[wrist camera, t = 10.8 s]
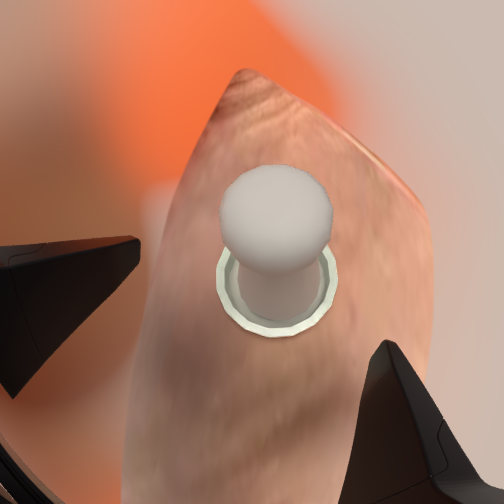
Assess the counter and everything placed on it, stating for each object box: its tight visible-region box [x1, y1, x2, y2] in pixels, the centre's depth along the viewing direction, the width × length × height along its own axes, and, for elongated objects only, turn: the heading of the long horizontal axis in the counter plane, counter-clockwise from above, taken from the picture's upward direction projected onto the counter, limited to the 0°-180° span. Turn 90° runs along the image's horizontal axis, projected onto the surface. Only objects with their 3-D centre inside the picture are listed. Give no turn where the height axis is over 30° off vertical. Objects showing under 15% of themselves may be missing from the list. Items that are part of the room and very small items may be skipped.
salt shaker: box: [219, 165, 333, 320], centre depth 15 cm, size 6×6×13 cm
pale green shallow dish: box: [216, 245, 338, 338], centre depth 21 cm, size 9×9×2 cm
